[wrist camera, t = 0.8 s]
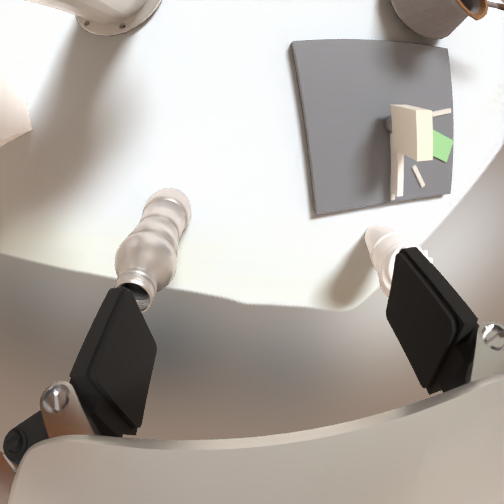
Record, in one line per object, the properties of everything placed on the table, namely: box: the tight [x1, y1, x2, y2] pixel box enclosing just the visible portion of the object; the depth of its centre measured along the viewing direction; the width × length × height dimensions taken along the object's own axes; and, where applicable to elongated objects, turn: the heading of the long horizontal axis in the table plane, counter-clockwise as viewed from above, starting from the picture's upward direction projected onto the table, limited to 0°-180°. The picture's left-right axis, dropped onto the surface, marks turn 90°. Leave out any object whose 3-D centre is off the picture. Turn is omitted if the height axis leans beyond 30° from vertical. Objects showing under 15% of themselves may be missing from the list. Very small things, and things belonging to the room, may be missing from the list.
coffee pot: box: [391, 0, 504, 39], centre depth 19 cm, size 21×12×15 cm, turn 104°
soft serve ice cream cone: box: [364, 223, 433, 297], centre depth 39 cm, size 8×8×16 cm
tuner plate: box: [291, 39, 453, 215], centre depth 35 cm, size 24×24×2 cm
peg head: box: [384, 105, 433, 197], centre depth 33 cm, size 13×2×8 cm, turn 10°
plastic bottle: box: [114, 188, 191, 313], centre depth 32 cm, size 6×7×20 cm
